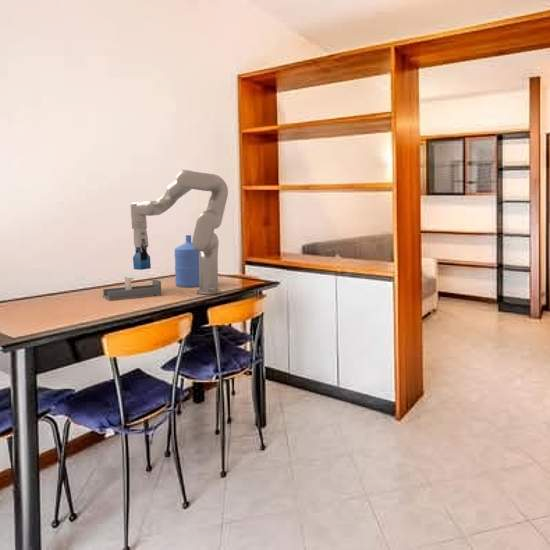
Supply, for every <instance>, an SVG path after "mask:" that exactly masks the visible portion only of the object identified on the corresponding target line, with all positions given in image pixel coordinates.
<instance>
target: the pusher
mask: <svg viewBox="0 0 550 550" xmlns="http://www.w3.org/2000/svg"><path fill="white" fill-rule="evenodd" d="M134 279H135V277H133V276H130V275H125V276H124V287H125V290H132V286H133V285H132V280H134Z"/></svg>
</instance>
